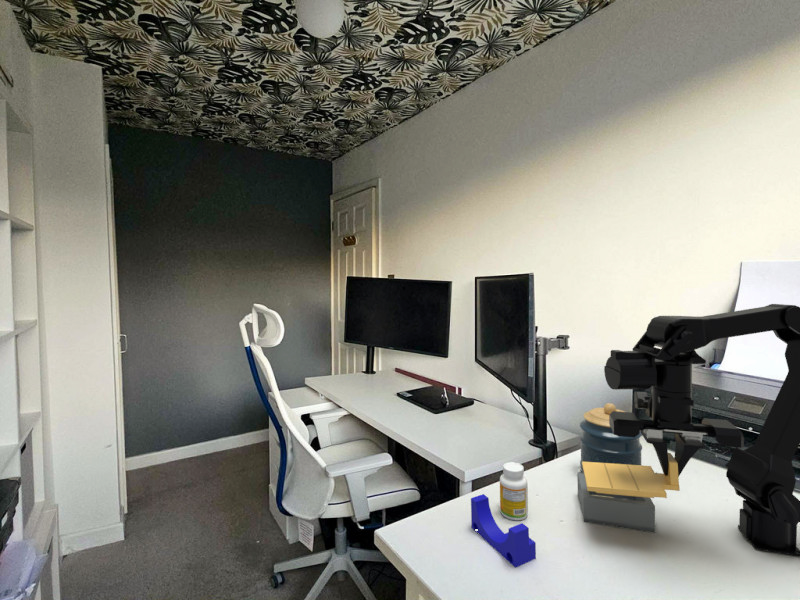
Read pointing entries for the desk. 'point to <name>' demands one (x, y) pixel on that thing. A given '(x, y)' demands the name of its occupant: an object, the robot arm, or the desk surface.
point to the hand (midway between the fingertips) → (670, 475)
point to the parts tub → (616, 509)
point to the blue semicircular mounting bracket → (502, 534)
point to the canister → (606, 440)
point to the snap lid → (631, 479)
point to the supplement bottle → (513, 492)
